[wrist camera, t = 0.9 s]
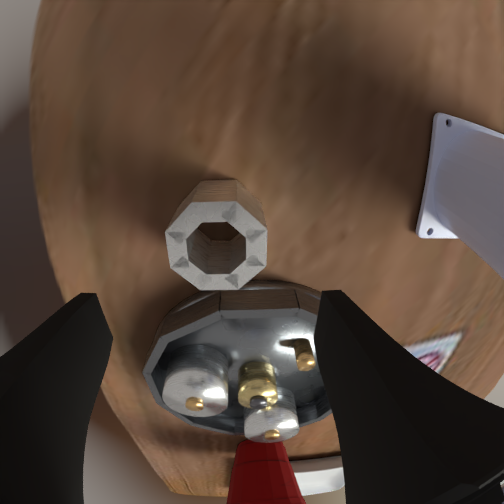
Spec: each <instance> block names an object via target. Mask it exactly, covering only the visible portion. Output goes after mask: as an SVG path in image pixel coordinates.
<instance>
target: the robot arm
mask: <svg viewBox="0 0 504 504" xmlns="http://www.w3.org/2000/svg"><path fill="white" fill-rule="evenodd" d="M446 120H448V125H446ZM429 228H430V230H429V232H427V231H428V229H429ZM416 234H417V235H418V236H419V237H420V238H459V239H460V240H461V241H463V242H464V243H465V244H466V245H467V246H468V247H470V248H471V249H472V250H473V251H474V252H475V253H476V254H477V255H479V256H480V257H481V258H482V259H483V260H484V261H485V262H486V263H487V264H488V265H489V266H490V267H492V268H493V269H494V270H495V271H496V272H497V273H498V274H499V275H500V276H501V277H502V278H503V279H504V135H503V134H501V133H498V132H496V131H493V130H491V129H488V128H486V127H483V126H480V125H478V124H475V123H472V122H469V121H466V120H463V119H460V118H457V117H454V116H451V115H447V114H444V113H436V114H435V116H434V119H433V130H432V140H431V148H430V156H429V163H428V170H427V176H426V182H425V188H424V193H423V198H422V203H421V208H420V213H419V217H418V222H417V226H416ZM313 339H314V345H315V351H316V357H317V362H318V367H319V370H320V373H321V377H322V380H323V383H324V387H325V390H326V393H327V397H328V400H329V403H330V406H331V410H332V413H333V417H334V420H335V424H336V428H337V432H338V438H339V444H340V450H341V457H342V465H343V473H344V482H345V495H346V504H504V484H502V485H500V482H502V481H503V480H504V408H502V407H499V406H497V405H494V404H492V403H489V402H488V401H486V400H483V399H481V398H479V397H477V396H475V395H473V394H471V393H469V392H468V391H466V390H464V389H462V388H461V387H459V386H457V385H455V384H454V383H452V382H450V381H449V380H447V379H446V378H444V377H442V376H441V375H439V374H438V373H436V372H435V371H434V370H432V369H431V368H429V367H428V366H427V365H425V364H424V363H422V362H421V361H420V360H418V359H417V358H416V357H414V356H413V355H412V354H411V353H409V352H408V351H407V350H406V349H405V348H403V347H402V346H401V345H400V344H399V343H397V342H396V341H395V340H394V339H393V338H392V337H390V336H389V335H388V334H387V333H386V332H385V331H384V330H383V329H382V328H380V327H379V326H378V325H377V324H376V323H375V322H374V321H373V320H372V319H371V318H370V317H369V316H368V315H367V314H366V313H365V312H363V311H362V310H361V309H360V308H359V307H358V306H357V305H356V304H355V303H354V302H353V301H352V300H351V299H350V298H349V297H348V296H347V295H346V294H345V293H344V292H342V291H341V290H329V291H322V293H321V299H320V305H319V310H318V316H317V321H316V326H315V331H314V336H313ZM112 341H113V336H112V334H111V331H110V329H109V326H108V324H107V321H106V319H105V316H104V314H103V311H102V308H101V306H100V303H99V300H98V297H97V294H96V293H80V294H79V295H77V296H76V297H74V298H73V299H72V300H70V301H69V302H68V303H66V304H65V305H64V306H63V307H61V308H60V309H59V310H58V311H57V312H55V313H54V314H53V315H52V316H51V317H49V318H48V319H47V320H46V321H45V322H44V323H42V324H41V325H40V326H39V327H38V328H36V329H35V330H34V331H33V332H31V333H30V334H29V335H28V336H27V337H25V338H24V339H23V340H22V341H20V342H19V343H18V344H17V345H15V346H14V347H13V348H12V349H10V350H9V351H8V352H6V353H5V354H4V355H2V356H1V357H0V504H84V500H83V463H84V451H85V443H86V436H87V429H88V424H89V420H90V416H91V413H92V410H93V406H94V403H95V400H96V397H97V394H98V391H99V388H100V385H101V382H102V379H103V376H104V373H105V370H106V367H107V364H108V360H109V356H110V351H111V346H112Z"/></svg>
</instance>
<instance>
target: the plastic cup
mask: <svg viewBox="0 0 504 504" xmlns="http://www.w3.org/2000/svg"><path fill="white" fill-rule="evenodd" d="M227 504H306V502H305V500H304V499H303V497H302V494H301V491H300V488H299V486H298V483H297V480H296V477H295V474H294V471H293V469H292V466H291V464H290V462H289V459H288V456H287V453H286V449H285V447H284V446H283V443H282V442H281V441H279V442H272V443H261V442H255V441H252V440H245V441H243V442H241V443H240V444H239V445H238V448H237V450H236V455H235V461H234V467H233V468H232V474H231V480H230V486H229V492H228V498H227Z"/></svg>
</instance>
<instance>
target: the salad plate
mask: <svg viewBox="0 0 504 504" xmlns="http://www.w3.org/2000/svg"><path fill="white" fill-rule="evenodd" d="M289 462H290V464H291V466H292V469H293V471H294V474H295V477H296V480H297V483H298V486H299V488H300V491H301V494H302V496H304V495H312V494H318V493H324V492H330V491H335V490H338V489H340V488H342V487H343V486H345V482H344V473H343V465H342V457H341V456H334V457H327V458H319V459H310V460H300V461H289Z"/></svg>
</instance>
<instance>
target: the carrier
mask: <svg viewBox="0 0 504 504" xmlns="http://www.w3.org/2000/svg"><path fill="white" fill-rule="evenodd" d="M320 299H321V292H319V291H317V290H314V289H311V288H309V287H306V286H303V285H299V284H295V283H291V282H284V281H277V280H249V281H248V282H247V283H246V284H245V285H243V286H242V287H241V288H240V289H238V290H203V291H201V292H198V293H196V294H194V295H192V296H190V297H188V298H187V299H185V300H183V301H182V302H180V303H179V304H178V305H177V306H175V307H174V308H173V309H172V310H171V311H170V312H169V313H168V314H167V315H166V316H165V317H164V319H163V320H162V322H161V323H160V325H159V327H158V329H157V332H156V334H155V338H154V341H153V343H152V345H151V347H150V349H149V351H148V353H147V357H146V361H145V364H144V368H143V372H142V373H143V375H144V377H145V379H146V382H147V384H148V386H149V388H150V390H151V393H152V395H153V397H154V399H155V401H156V403H157V404H158V405H160V406H161V407H163V408H164V409H166V410H167V411H169V412H170V413H172V414H173V415H175V416H176V417H178V418H180V419H181V420H183V421H184V422H186V423H188V424H189V425H192V426H195V427H199V428H203V429H207V430H211V431H216V432H220V433H225V434H229V435H245V437H246V438H248V439H249V440H252V441H255V442H261V443H272V442H279V441H284V440H287V439H289V438H292V437H293V436H295V435H296V434H297V433H298V432H299V427H302V426H305V425H308V424H311V423H314V422H317V421H320V420H322V419H324V418H325V417H327V416H328V415H330V414H331V413H332V410H331V406H330V403H329V400H328V397H327V393H326V390H325V387H324V383H323V380H322V377H321V373H320V370H319V367H318V362H317V357H316V351H315V345H314V339H313V336H314V331H315V326H316V321H317V316H318V310H319V305H320Z"/></svg>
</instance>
